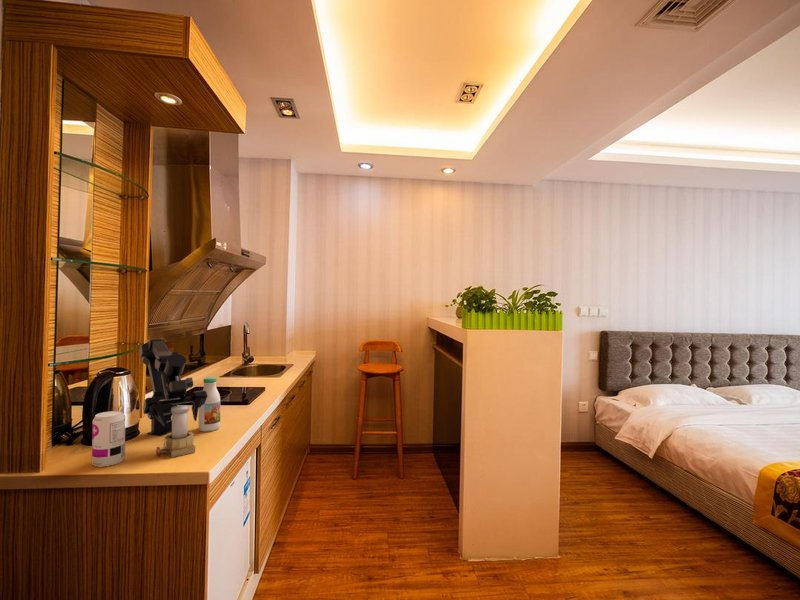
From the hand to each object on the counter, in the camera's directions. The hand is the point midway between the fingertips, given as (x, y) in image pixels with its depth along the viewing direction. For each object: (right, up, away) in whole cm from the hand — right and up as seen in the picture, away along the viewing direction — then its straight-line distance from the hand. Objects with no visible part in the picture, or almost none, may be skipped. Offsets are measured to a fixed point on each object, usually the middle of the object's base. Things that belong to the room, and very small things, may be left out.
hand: (180, 423), depth 132 cm
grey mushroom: (-1, -8, +1) cm, 8 cm away
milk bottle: (-2, -10, +24) cm, 26 cm away
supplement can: (-17, -10, -9) cm, 22 cm away
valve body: (-3, -10, +1) cm, 10 cm away
